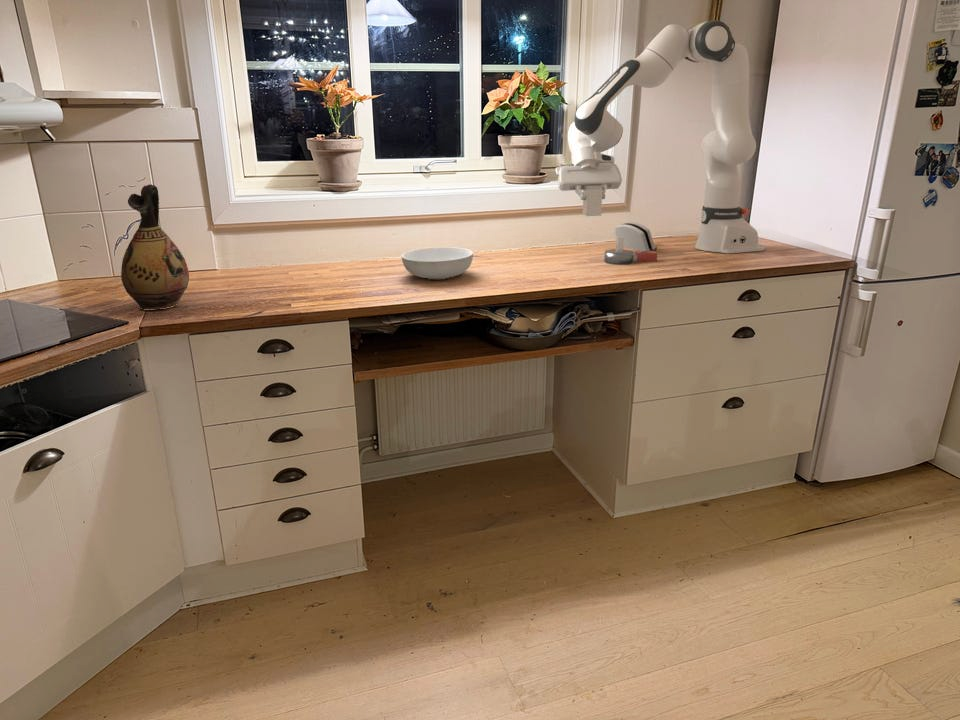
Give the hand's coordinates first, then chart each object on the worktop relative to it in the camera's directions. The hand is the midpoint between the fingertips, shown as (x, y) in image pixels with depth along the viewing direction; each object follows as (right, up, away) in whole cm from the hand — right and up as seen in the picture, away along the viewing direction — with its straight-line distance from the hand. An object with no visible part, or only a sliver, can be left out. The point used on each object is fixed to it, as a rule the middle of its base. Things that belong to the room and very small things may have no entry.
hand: (593, 198), depth 215 cm
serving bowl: (-48, -27, -14) cm, 57 cm away
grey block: (0, -5, +2) cm, 5 cm away
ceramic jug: (-117, -37, -40) cm, 130 cm away
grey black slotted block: (+18, -12, +21) cm, 30 cm away
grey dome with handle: (+12, -20, +1) cm, 23 cm away
